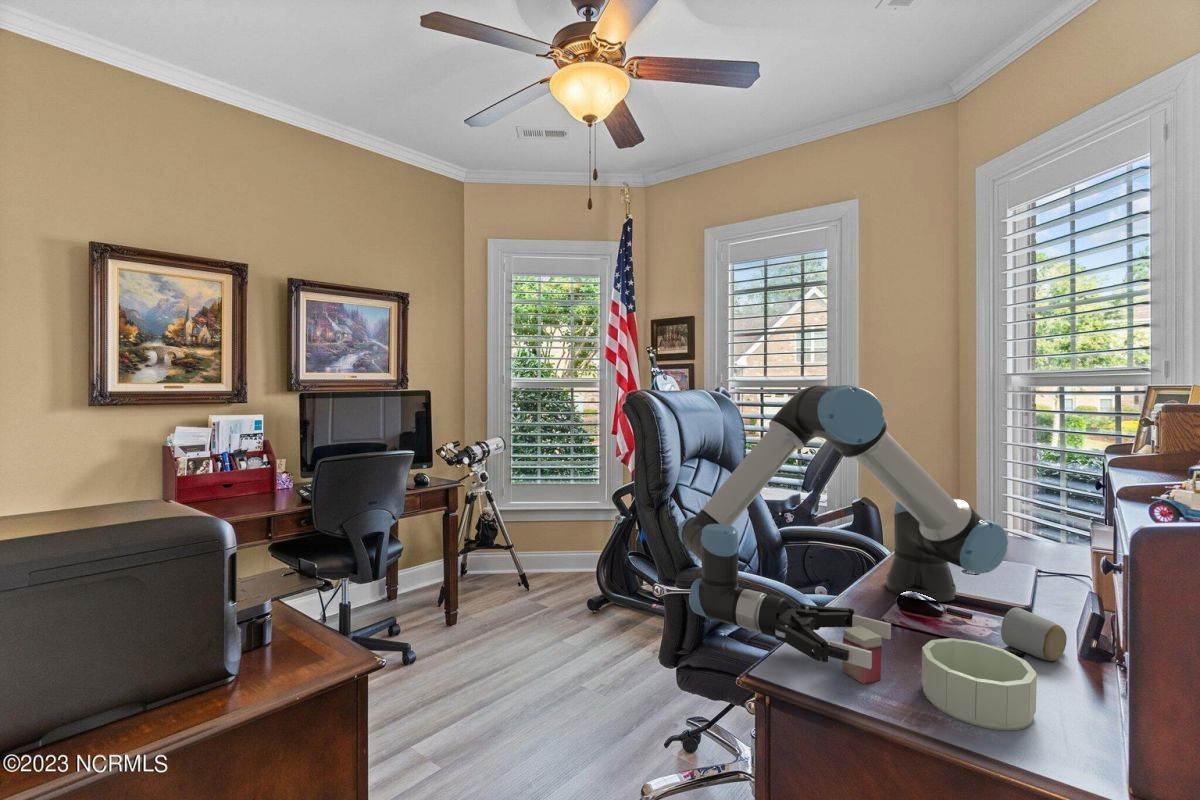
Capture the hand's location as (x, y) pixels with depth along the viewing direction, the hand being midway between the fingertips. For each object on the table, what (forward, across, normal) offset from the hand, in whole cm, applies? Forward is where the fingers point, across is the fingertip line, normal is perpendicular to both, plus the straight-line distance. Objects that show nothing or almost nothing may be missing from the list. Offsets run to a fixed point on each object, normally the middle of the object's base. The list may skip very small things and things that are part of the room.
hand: (881, 645), depth 98 cm
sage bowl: (+14, -3, -6) cm, 15 cm away
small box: (-3, 0, -7) cm, 7 cm away
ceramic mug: (+20, -31, -7) cm, 37 cm away
